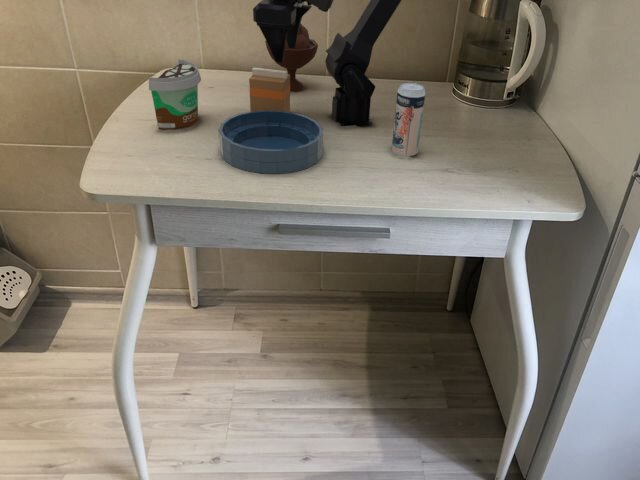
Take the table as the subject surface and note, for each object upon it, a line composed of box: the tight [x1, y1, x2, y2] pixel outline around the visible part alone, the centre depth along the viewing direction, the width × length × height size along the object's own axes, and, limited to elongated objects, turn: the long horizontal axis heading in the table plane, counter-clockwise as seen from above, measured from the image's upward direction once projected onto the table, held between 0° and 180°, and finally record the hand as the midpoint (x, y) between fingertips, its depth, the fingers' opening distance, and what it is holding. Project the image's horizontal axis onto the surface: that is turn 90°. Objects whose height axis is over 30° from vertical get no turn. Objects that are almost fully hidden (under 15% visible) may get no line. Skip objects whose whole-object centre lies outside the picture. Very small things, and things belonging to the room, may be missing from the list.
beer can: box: [391, 82, 427, 158], centre depth 103 cm, size 5×5×12 cm
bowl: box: [218, 110, 324, 175], centre depth 101 cm, size 17×17×4 cm
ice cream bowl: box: [265, 23, 319, 92], centre depth 126 cm, size 11×11×15 cm
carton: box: [248, 67, 291, 112], centre depth 113 cm, size 5×6×9 cm
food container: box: [148, 58, 202, 131], centre depth 108 cm, size 12×6×10 cm, turn 168°
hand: (285, 54), depth 106 cm, fingers open, 9 cm apart
